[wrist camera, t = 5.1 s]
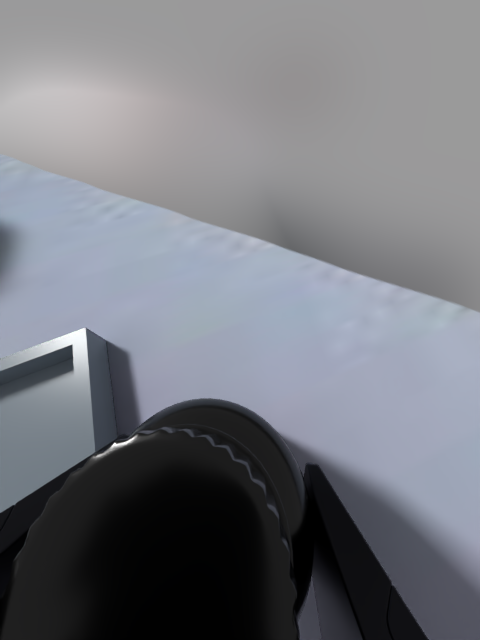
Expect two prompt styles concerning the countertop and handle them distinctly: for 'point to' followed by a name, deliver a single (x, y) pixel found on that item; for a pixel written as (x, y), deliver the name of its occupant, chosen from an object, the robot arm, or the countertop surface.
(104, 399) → the tray
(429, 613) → the countertop surface
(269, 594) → the supplement bottle
